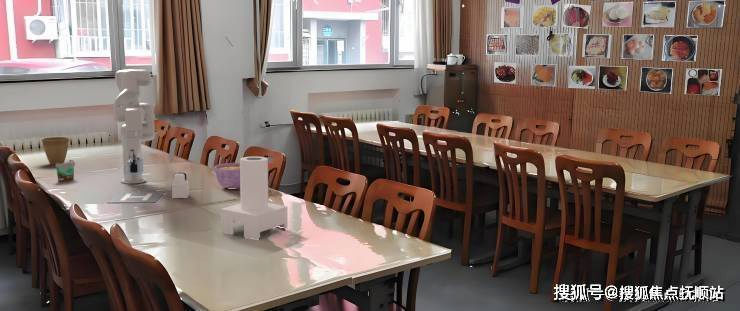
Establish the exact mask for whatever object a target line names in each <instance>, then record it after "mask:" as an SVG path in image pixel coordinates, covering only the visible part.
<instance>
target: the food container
mask: <svg viewBox="0 0 740 311" xmlns="http://www.w3.org/2000/svg"><path fill="white" fill-rule="evenodd" d="M75 166H76V162H75V161H74V160H71V159H69V161H66V162H65V161H64V163H61V164H56V165H55V169H56V175H57V181H58V182H60V183H61V182H71V181H74V179H75V178H74V177H75V174H74V173H75Z"/></svg>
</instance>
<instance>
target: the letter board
mask: <svg viewBox="0 0 740 311" xmlns="http://www.w3.org/2000/svg"><path fill="white" fill-rule="evenodd" d="M163 194H164V191H118V193H116V194H115V195H114V196H113V197H111V198H110V199H109V200H108V201H107V202H106V203H107V204H142V203H143V204H146V203H147V204H149V203H151V204H153V203H157V201H158V200H159V199H160V198H161V197H162V196H163Z"/></svg>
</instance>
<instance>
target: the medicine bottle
mask: <svg viewBox="0 0 740 311" xmlns="http://www.w3.org/2000/svg"><path fill="white" fill-rule="evenodd" d="M189 196H190V183H189V181H188V180H187V173H185V172H175V173H174V174H173V183H172V184H171V199H173V198H187V199H188V197H189ZM173 200H174V199H173Z"/></svg>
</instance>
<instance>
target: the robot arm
mask: <svg viewBox="0 0 740 311" xmlns="http://www.w3.org/2000/svg"><path fill="white" fill-rule="evenodd" d="M114 79H115V84H116V87H117V88H118V91H119V94H118V95H117V96H116V97H115V99H114V101H113V118H114V120H115V122H118V123H124V124H122V125H121V126H120V129H119V133H120V138H121V146H122V161H123V163H122V164H123V178H122V179H120V182H121V183H122V184H130V185H131V184H134V185H135V184H141V183H144V182H146V181H147V180H146V177H143V172H142V173H141V174H128V169H127V161H129V160H130V172H131V173H137V164H136V162H137V160H139V159H143V155H142V154H143V153H142V152H143V151H142V142H149V141H153V140H154V139H155V136H156V129H155V127H156V126H155V114H154V107H153V105H152V104H151V103H149V102H139V98H140V95H141V90H140V87H150V86H151V85H152V74H151V72H150V71H149V70H148V69H122V70H118V71H116V72H115V74H114ZM143 121H144V122H143Z"/></svg>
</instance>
